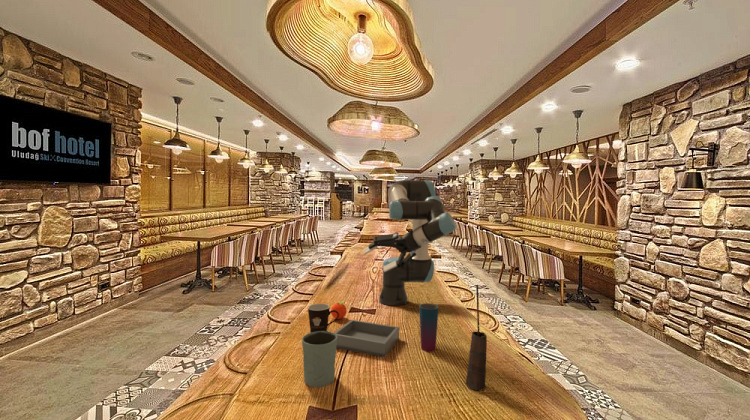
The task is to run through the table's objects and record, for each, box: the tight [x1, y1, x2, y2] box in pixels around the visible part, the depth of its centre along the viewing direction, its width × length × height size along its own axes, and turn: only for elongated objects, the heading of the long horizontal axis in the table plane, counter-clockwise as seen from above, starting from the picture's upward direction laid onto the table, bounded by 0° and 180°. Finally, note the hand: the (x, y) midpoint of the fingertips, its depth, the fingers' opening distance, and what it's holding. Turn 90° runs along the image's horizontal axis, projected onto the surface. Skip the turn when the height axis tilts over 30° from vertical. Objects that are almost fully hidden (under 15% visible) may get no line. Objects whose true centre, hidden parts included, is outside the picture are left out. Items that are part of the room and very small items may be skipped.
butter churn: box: [465, 284, 488, 391], centre depth 86 cm, size 9×10×28 cm
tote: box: [333, 319, 400, 358], centre depth 115 cm, size 16×20×4 cm
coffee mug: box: [307, 303, 339, 333], centre depth 123 cm, size 12×9×10 cm
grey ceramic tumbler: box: [301, 330, 337, 388], centre depth 90 cm, size 10×10×12 cm
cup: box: [418, 302, 440, 352], centre depth 111 cm, size 7×7×15 cm
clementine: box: [330, 302, 347, 320], centre depth 140 cm, size 8×7×7 cm
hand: (374, 260), depth 129 cm, fingers open, 13 cm apart
